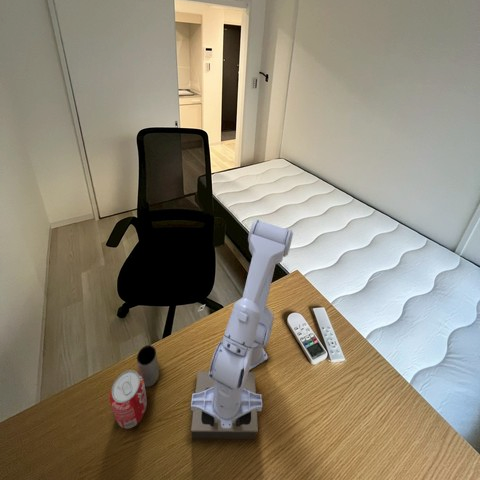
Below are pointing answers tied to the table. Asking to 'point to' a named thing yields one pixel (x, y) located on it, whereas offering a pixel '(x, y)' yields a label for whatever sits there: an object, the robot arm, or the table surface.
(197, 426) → the lid
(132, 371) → the soda can
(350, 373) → the table surface
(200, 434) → the dark grey open box
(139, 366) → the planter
